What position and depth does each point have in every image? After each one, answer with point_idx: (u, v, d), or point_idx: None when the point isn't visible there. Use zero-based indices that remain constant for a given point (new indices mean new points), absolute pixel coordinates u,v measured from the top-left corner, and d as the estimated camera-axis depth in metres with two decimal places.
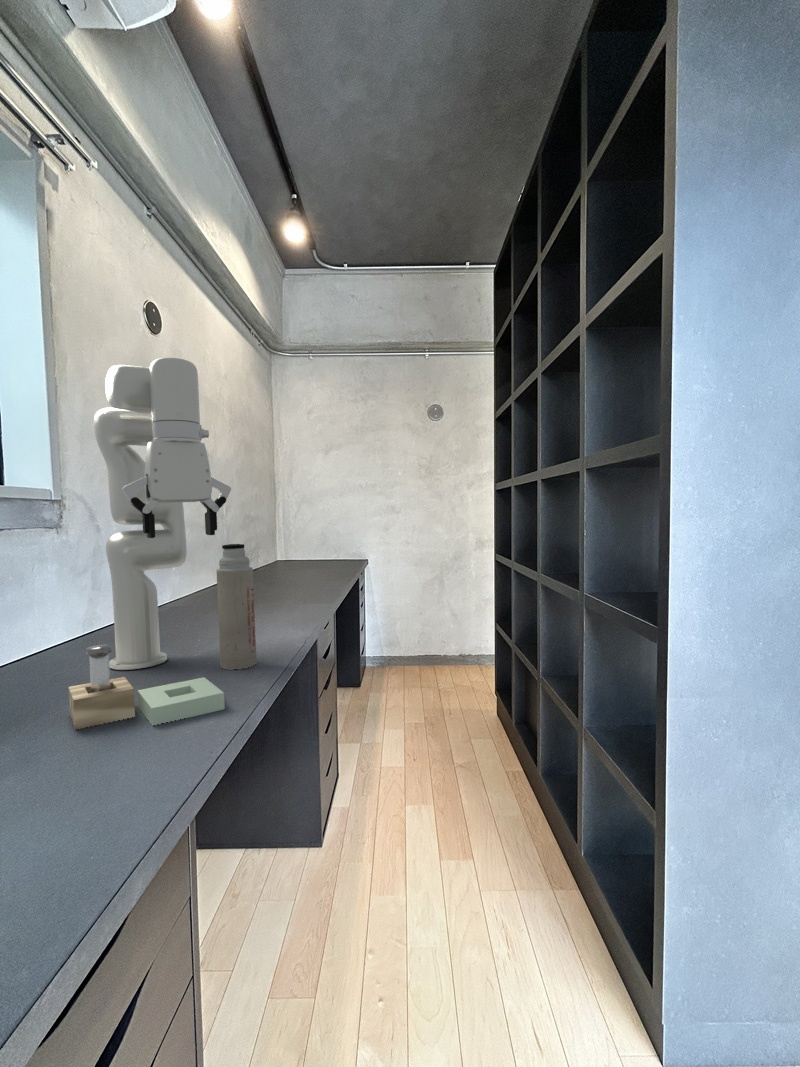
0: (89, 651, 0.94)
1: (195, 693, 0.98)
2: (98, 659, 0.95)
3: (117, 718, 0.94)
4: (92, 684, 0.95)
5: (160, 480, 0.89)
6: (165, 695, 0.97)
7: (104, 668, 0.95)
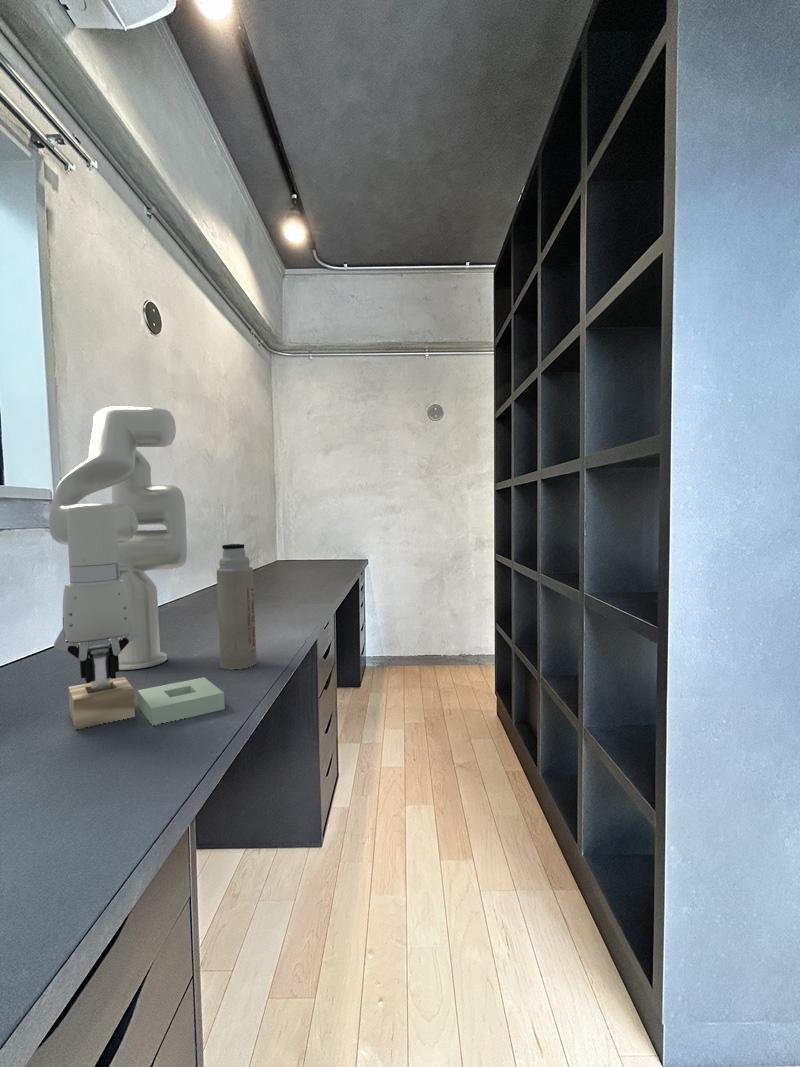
0: (89, 651, 0.94)
1: (195, 693, 0.98)
2: (98, 659, 0.95)
3: (117, 718, 0.94)
4: (92, 684, 0.95)
5: (75, 624, 0.92)
6: (165, 695, 0.97)
7: (104, 668, 0.95)
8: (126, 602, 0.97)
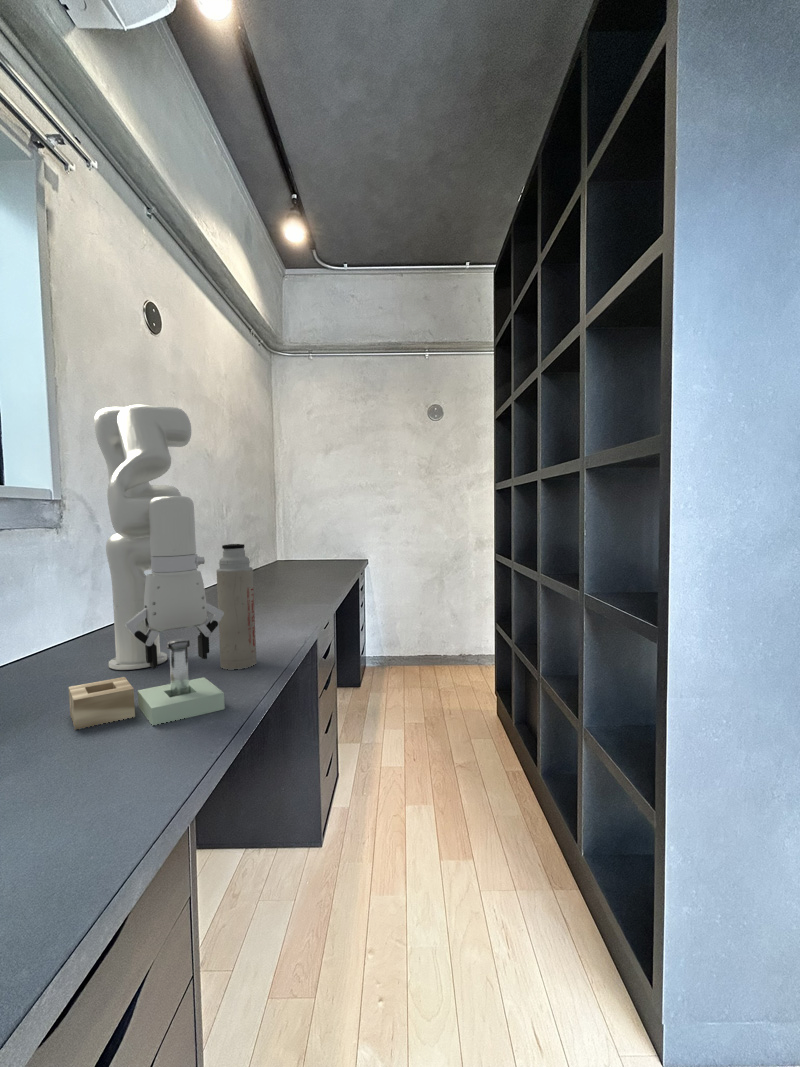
0: (170, 645, 0.97)
1: (195, 693, 0.98)
2: (178, 652, 0.98)
3: (117, 718, 0.94)
4: (172, 677, 0.98)
5: (158, 612, 0.95)
6: (165, 695, 0.97)
7: (184, 661, 0.98)
8: (204, 592, 1.00)
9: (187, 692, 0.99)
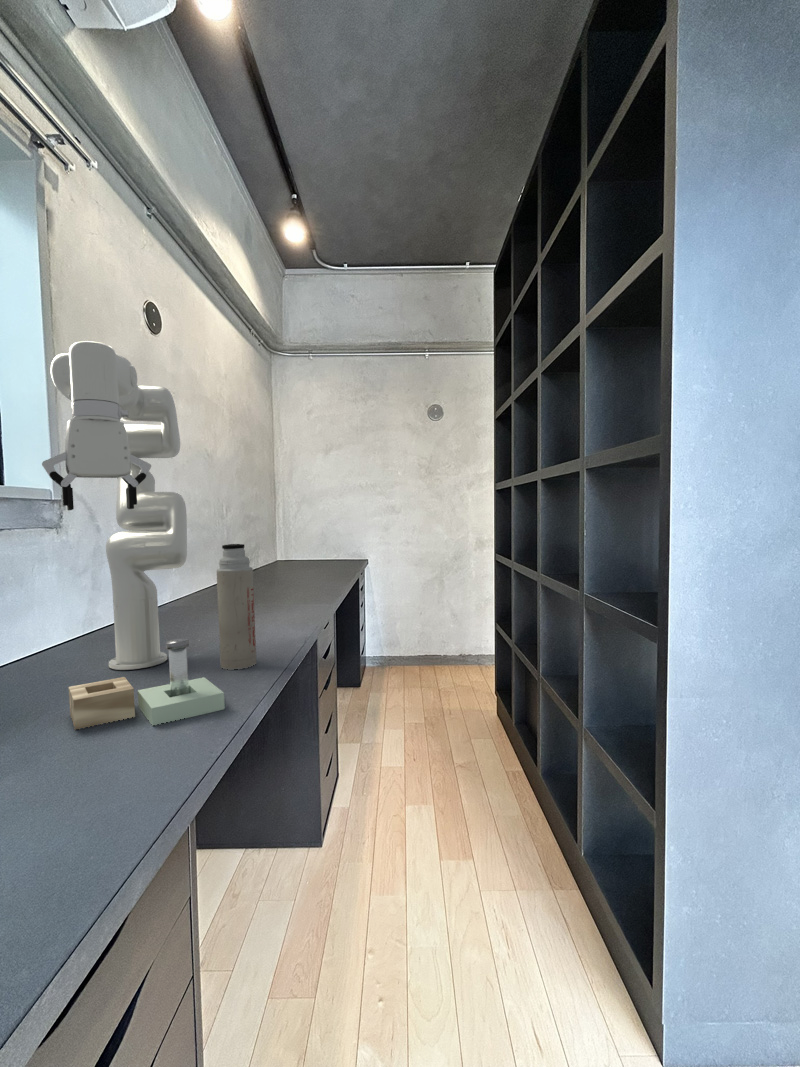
0: (169, 645, 0.97)
1: (195, 693, 0.98)
2: (177, 652, 0.98)
3: (117, 718, 0.94)
4: (172, 677, 0.98)
5: (78, 456, 0.95)
6: (165, 695, 0.97)
7: (183, 661, 0.98)
8: (126, 443, 1.00)
9: (187, 692, 0.99)
